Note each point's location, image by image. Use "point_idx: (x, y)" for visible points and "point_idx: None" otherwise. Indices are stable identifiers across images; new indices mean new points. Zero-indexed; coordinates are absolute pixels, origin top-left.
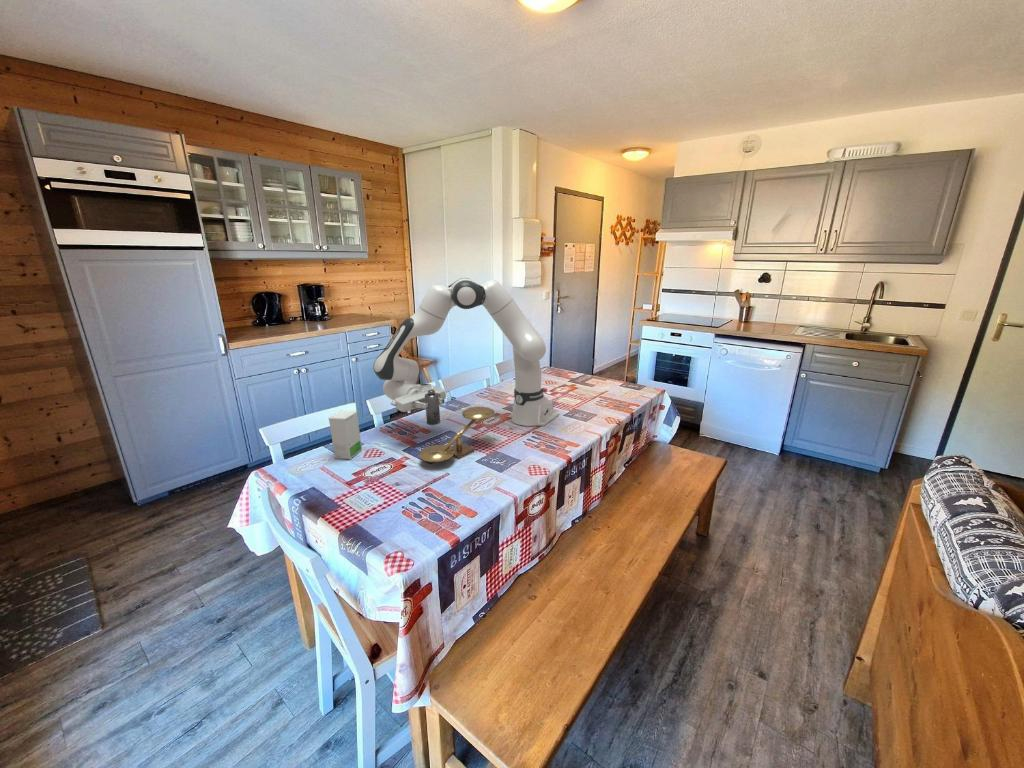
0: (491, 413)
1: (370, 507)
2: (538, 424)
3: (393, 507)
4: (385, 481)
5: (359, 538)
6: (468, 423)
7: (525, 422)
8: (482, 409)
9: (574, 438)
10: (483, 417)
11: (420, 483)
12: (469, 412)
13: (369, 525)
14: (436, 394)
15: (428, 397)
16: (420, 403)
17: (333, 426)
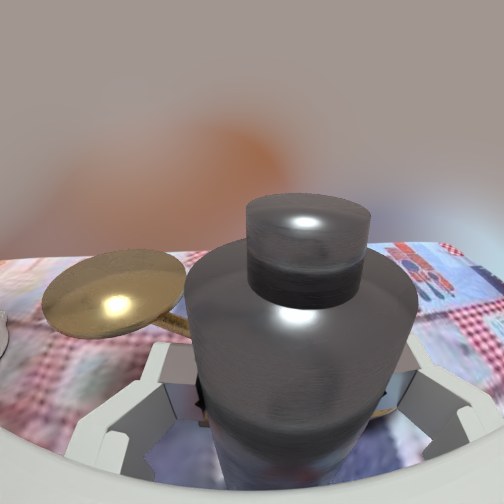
0: (107, 256)
1: (498, 314)
2: (4, 320)
3: (466, 300)
4: (488, 368)
5: (494, 279)
6: (174, 318)
7: (2, 334)
8: (72, 287)
9: (59, 269)
10: (155, 252)
11: (420, 330)
12: (124, 300)
13: (490, 288)
14: (240, 254)
15: (377, 261)
16: (447, 373)
17: None
